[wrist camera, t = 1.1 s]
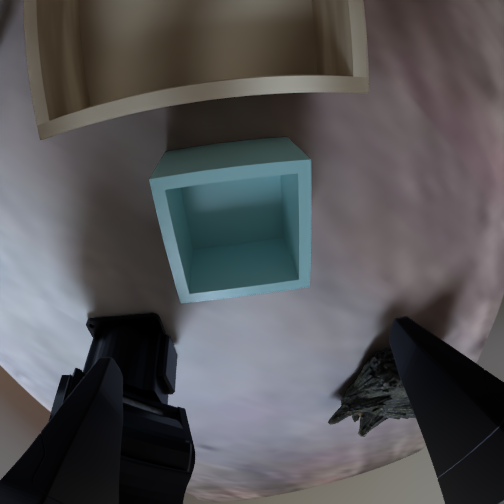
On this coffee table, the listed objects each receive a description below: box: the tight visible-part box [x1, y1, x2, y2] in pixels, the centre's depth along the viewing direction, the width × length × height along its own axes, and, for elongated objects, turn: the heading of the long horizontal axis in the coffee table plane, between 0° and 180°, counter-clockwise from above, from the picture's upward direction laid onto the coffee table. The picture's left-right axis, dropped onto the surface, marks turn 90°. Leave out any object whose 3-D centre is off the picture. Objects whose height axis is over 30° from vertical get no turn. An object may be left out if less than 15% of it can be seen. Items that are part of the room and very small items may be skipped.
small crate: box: [149, 137, 311, 304], centre depth 17 cm, size 7×7×5 cm
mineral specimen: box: [328, 348, 416, 437], centre depth 28 cm, size 15×13×10 cm
